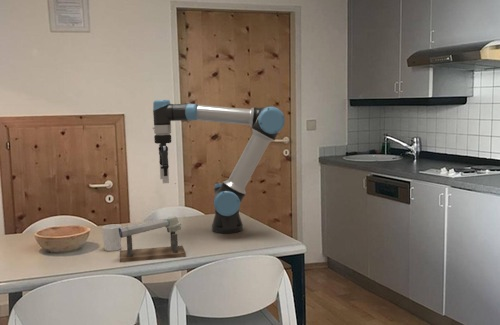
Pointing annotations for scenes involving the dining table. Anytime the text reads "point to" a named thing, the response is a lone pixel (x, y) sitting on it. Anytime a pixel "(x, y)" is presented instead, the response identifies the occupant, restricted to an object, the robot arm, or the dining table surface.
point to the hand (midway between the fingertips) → (164, 181)
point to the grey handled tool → (151, 226)
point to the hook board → (152, 251)
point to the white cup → (111, 237)
